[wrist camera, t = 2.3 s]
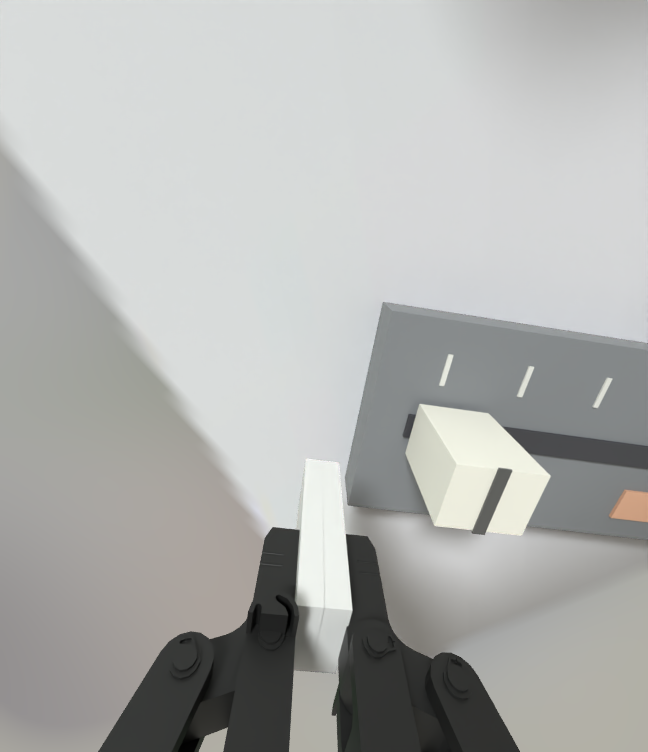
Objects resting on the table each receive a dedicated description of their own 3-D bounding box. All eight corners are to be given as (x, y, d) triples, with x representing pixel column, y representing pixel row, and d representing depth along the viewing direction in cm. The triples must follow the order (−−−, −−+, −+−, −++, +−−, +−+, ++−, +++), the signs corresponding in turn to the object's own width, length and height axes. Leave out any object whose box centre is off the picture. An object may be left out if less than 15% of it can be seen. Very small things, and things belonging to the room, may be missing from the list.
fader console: (382, 301, 22) (392, 311, 19) (775, 363, 23) (842, 380, 20) (344, 477, 27) (348, 507, 24) (669, 517, 28) (710, 549, 25)
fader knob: (419, 402, 20) (458, 463, 15) (489, 411, 21) (553, 475, 15) (404, 454, 22) (434, 529, 16) (469, 462, 22) (522, 539, 16)
